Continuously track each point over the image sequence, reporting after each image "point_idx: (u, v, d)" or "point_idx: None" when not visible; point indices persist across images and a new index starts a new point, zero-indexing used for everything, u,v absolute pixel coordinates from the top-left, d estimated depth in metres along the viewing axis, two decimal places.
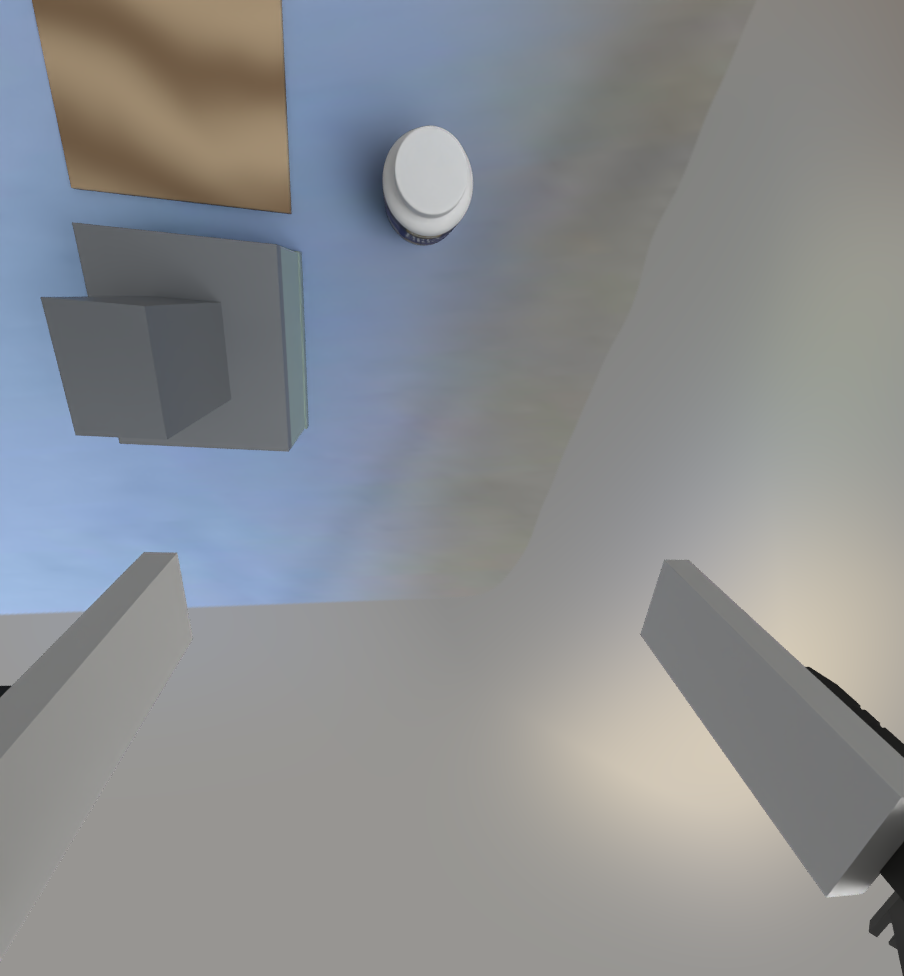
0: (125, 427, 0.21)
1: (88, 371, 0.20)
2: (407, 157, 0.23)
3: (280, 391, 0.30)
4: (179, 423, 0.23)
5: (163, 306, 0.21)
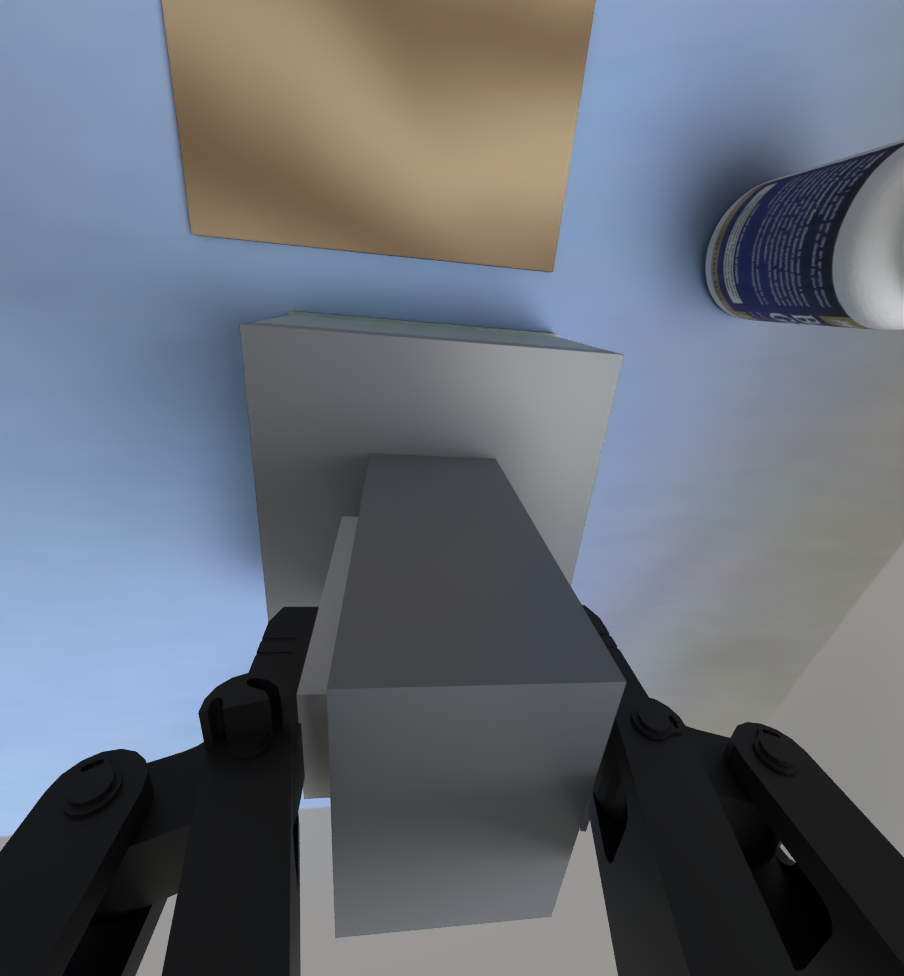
0: (462, 910, 0.08)
1: (410, 828, 0.07)
2: None
3: None
4: None
5: (580, 606, 0.08)
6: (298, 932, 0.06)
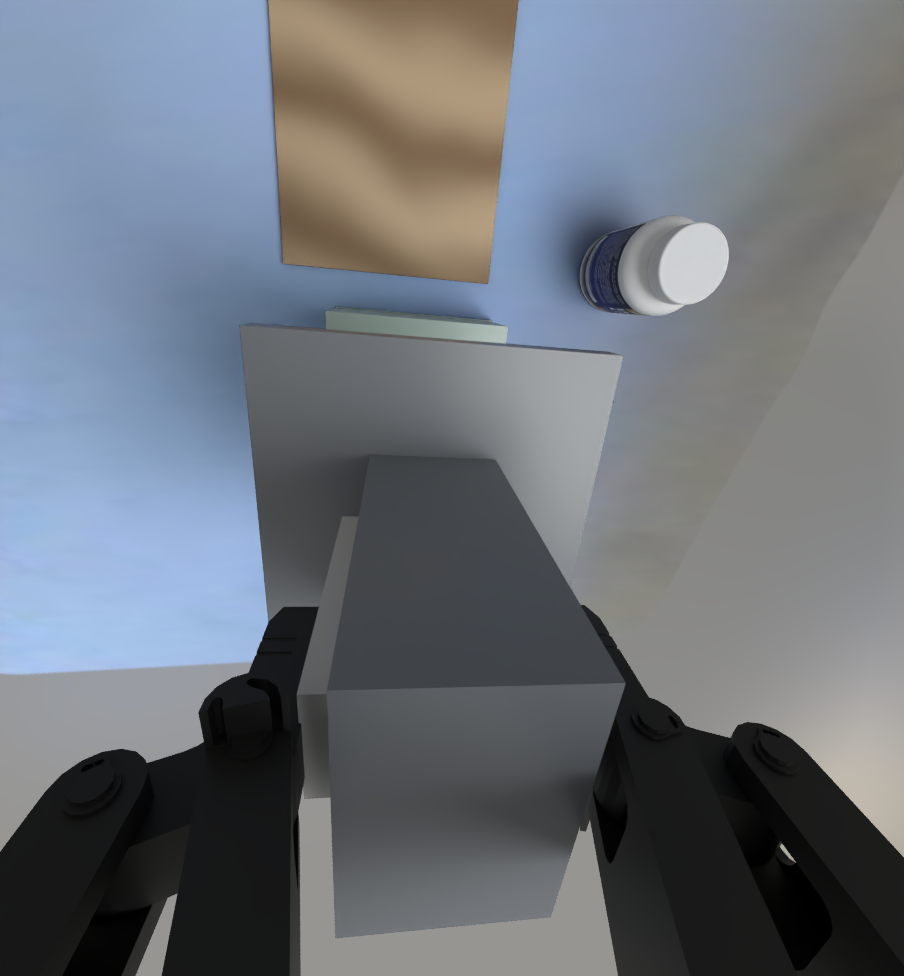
0: (462, 911, 0.08)
1: (410, 829, 0.07)
2: (674, 252, 0.23)
3: None
4: None
5: (580, 607, 0.08)
6: (298, 932, 0.06)
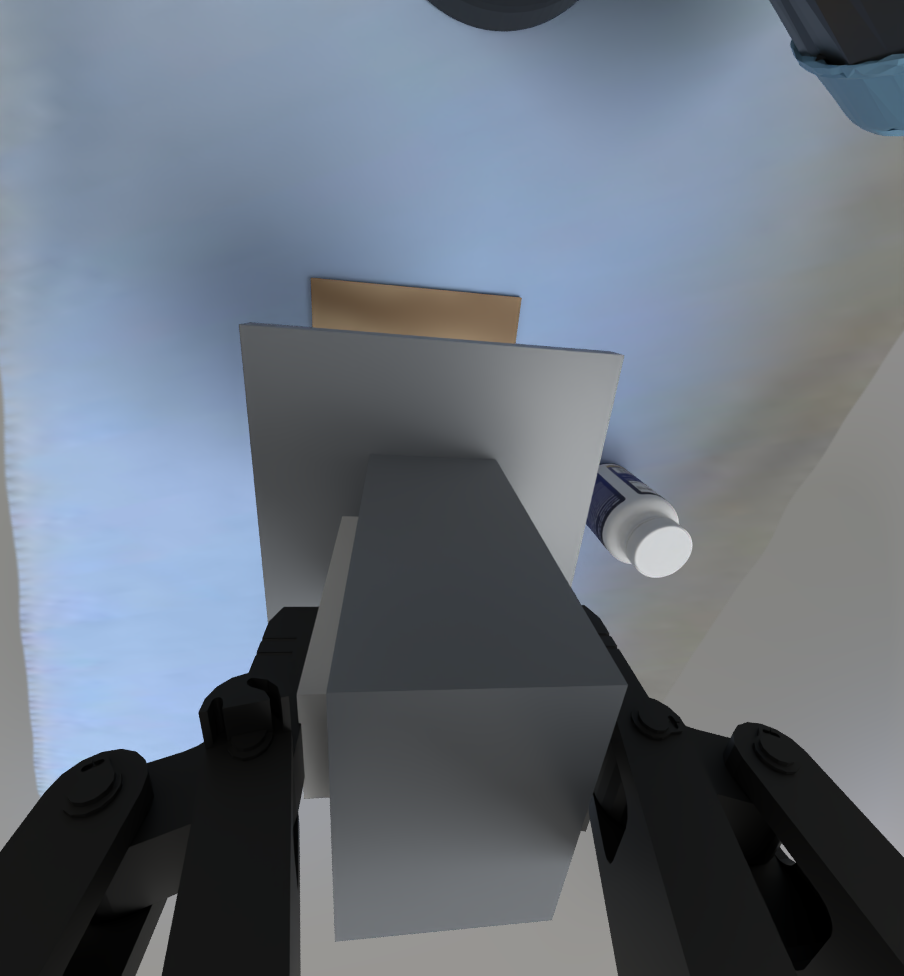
0: (463, 914, 0.08)
1: (410, 832, 0.07)
2: (646, 546, 0.28)
3: None
4: None
5: (581, 608, 0.08)
6: (298, 932, 0.06)
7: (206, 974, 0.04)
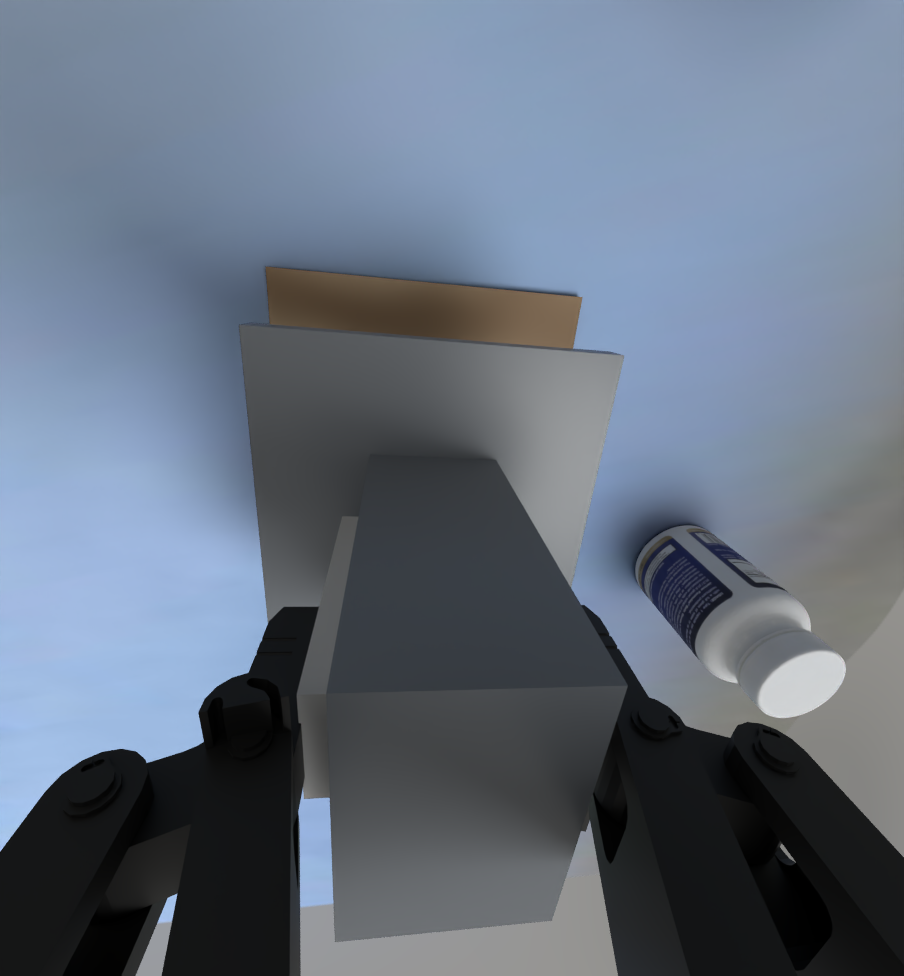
0: (462, 914, 0.08)
1: (410, 832, 0.07)
2: (779, 679, 0.19)
3: None
4: None
5: (581, 609, 0.08)
6: (298, 932, 0.06)
7: (206, 974, 0.04)
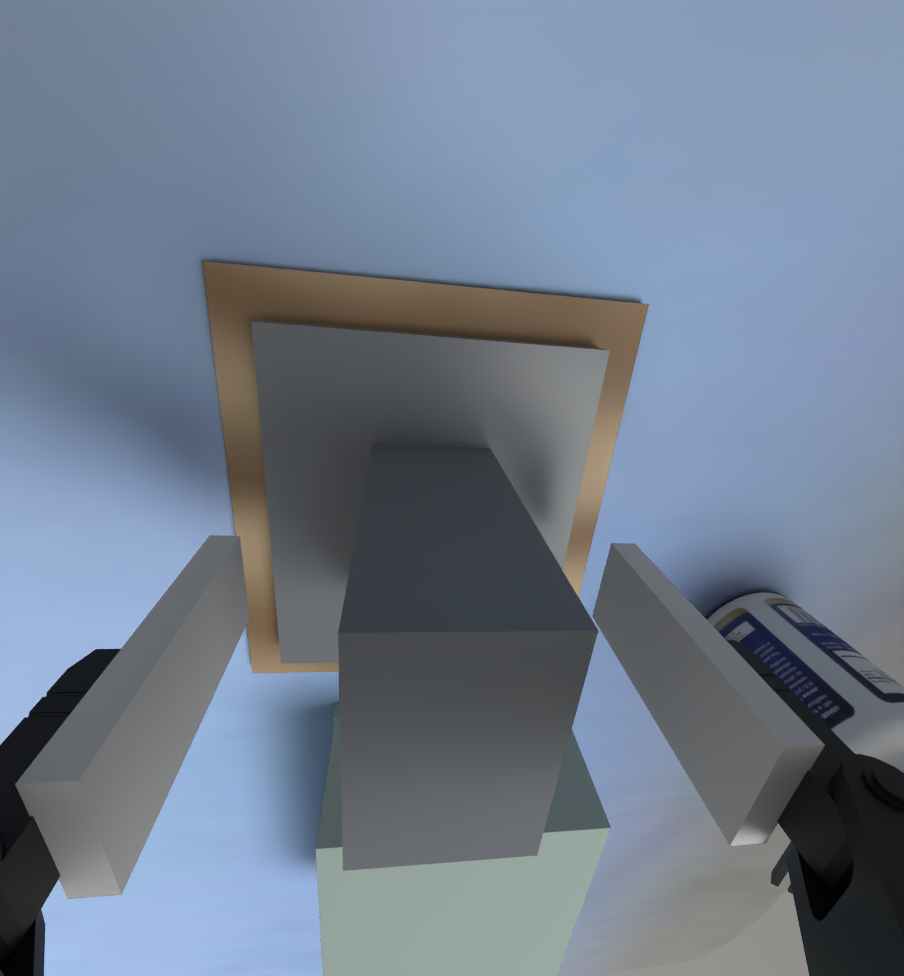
0: (457, 847, 0.09)
1: (410, 765, 0.08)
2: None
3: None
4: None
5: (562, 572, 0.09)
6: None
7: None
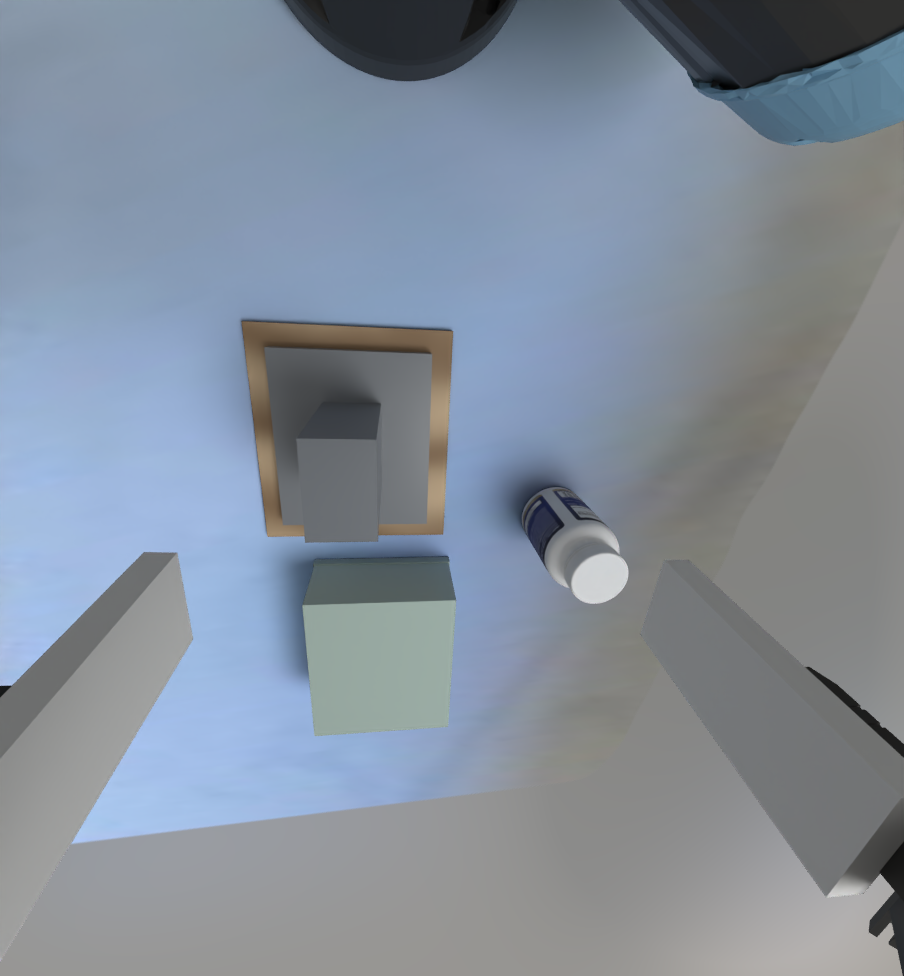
0: (346, 533, 0.25)
1: (323, 492, 0.24)
2: (581, 573, 0.29)
3: (424, 474, 0.34)
4: (378, 523, 0.26)
5: (377, 432, 0.24)
6: None
7: None
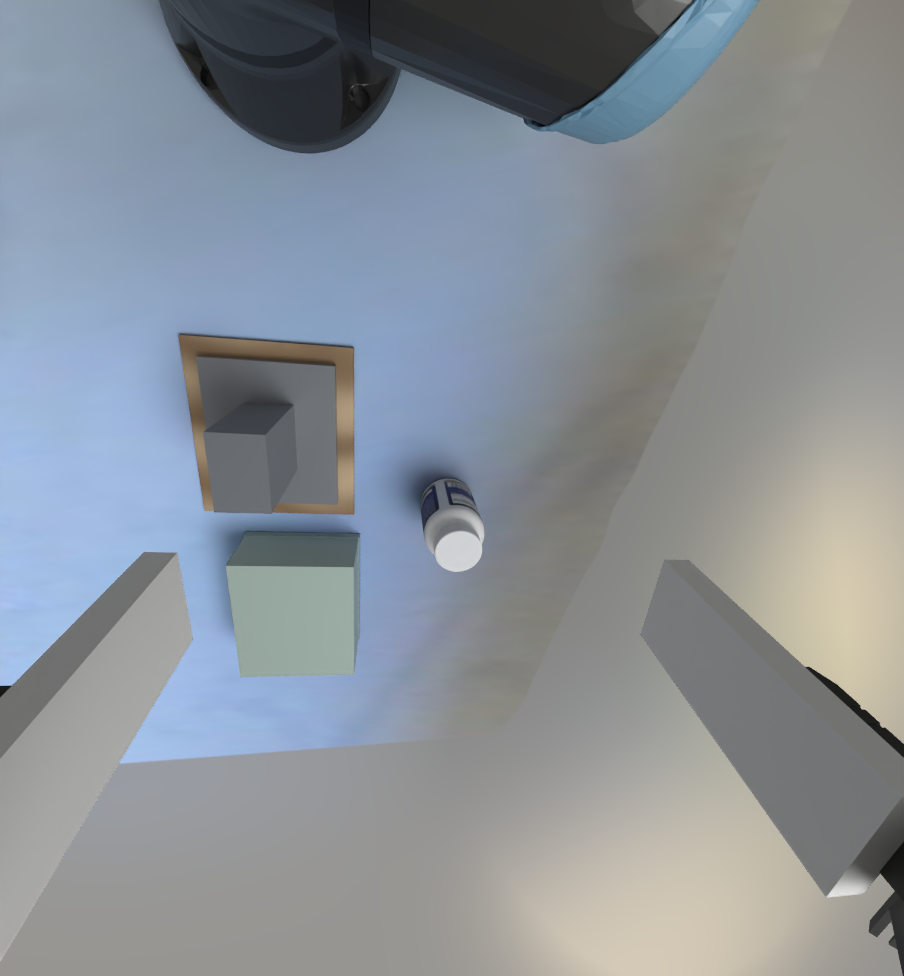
0: (246, 506, 0.32)
1: (226, 473, 0.31)
2: (443, 547, 0.36)
3: (333, 463, 0.41)
4: (276, 500, 0.34)
5: (271, 429, 0.32)
6: None
7: None
